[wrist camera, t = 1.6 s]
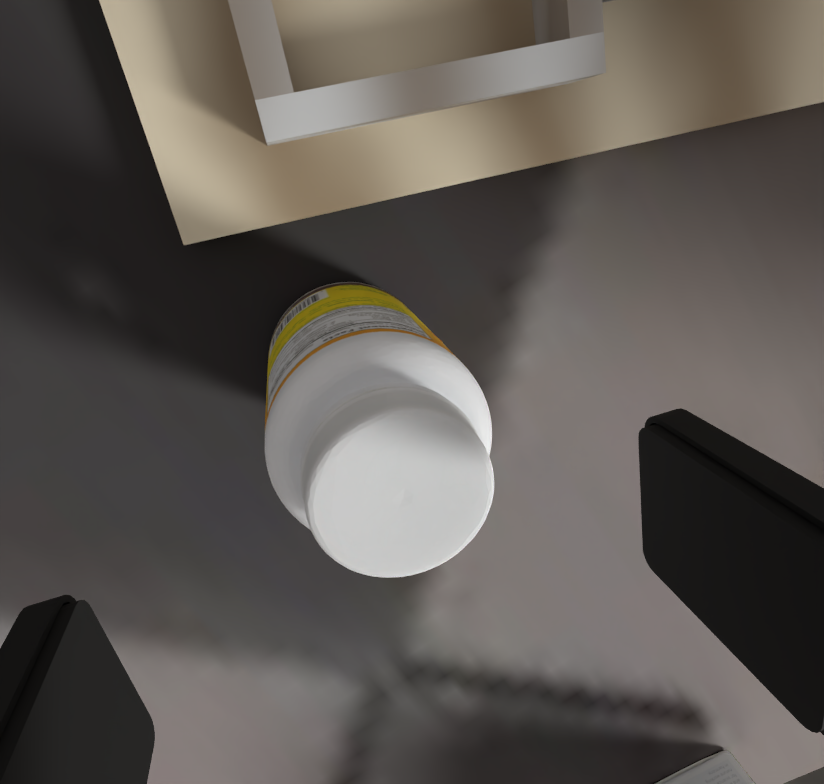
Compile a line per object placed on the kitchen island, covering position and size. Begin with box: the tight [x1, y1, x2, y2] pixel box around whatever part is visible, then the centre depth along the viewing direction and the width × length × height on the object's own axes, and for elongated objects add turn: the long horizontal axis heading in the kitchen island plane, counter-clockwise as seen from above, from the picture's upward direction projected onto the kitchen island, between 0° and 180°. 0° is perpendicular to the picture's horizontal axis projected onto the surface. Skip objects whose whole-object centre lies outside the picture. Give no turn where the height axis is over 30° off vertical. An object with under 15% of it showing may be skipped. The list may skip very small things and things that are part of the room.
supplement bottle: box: [265, 282, 494, 578], centre depth 16 cm, size 6×6×10 cm
